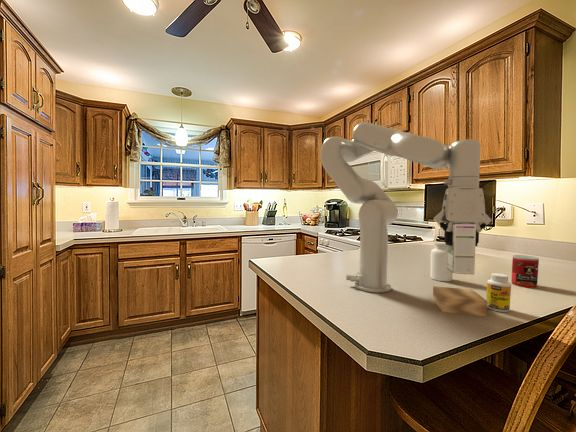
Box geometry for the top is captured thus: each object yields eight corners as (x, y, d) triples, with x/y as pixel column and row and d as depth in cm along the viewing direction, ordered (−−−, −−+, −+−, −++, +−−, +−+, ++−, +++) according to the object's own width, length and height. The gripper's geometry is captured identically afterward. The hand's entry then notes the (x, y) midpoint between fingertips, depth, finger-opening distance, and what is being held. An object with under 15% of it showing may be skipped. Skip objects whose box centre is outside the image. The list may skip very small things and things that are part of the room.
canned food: (515, 286, 105) (517, 257, 105) (508, 281, 113) (509, 254, 112) (541, 289, 102) (543, 259, 102) (531, 283, 110) (533, 255, 109)
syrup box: (475, 275, 79) (477, 223, 79) (452, 273, 80) (454, 223, 80) (466, 270, 85) (469, 222, 84) (445, 269, 86) (447, 222, 85)
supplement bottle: (486, 310, 81) (488, 275, 81) (485, 304, 86) (486, 271, 85) (511, 314, 78) (513, 278, 78) (508, 308, 83) (510, 274, 82)
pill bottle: (431, 275, 120) (433, 240, 119) (453, 278, 115) (454, 242, 114) (428, 279, 113) (429, 242, 112) (451, 283, 108) (452, 244, 108)
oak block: (442, 312, 79) (442, 297, 79) (432, 300, 90) (433, 286, 90) (486, 317, 77) (487, 301, 76) (471, 303, 87) (472, 289, 87)
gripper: (437, 182, 79) (435, 246, 80) (504, 183, 77) (500, 248, 78) (427, 184, 86) (425, 242, 87) (487, 184, 84) (485, 244, 85)
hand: (460, 244), depth 82 cm, fingers closed on syrup box, 6 cm apart
